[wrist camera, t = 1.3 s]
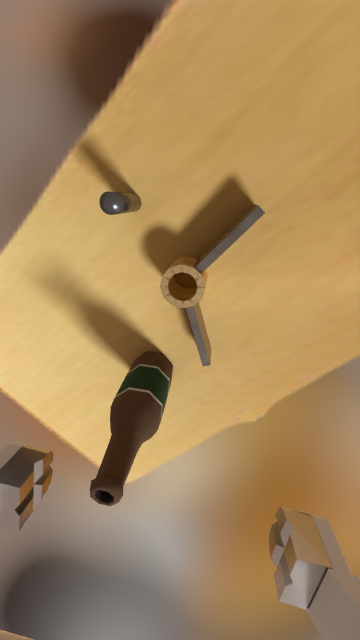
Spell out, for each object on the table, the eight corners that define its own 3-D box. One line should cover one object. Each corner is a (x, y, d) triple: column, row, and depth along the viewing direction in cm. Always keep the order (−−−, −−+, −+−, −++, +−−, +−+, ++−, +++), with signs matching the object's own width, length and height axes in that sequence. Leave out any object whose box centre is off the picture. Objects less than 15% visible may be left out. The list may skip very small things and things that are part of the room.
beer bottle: (163, 391, 52) (122, 529, 30) (127, 372, 51) (59, 500, 29) (182, 362, 48) (151, 494, 27) (144, 342, 48) (81, 461, 26)
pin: (132, 189, 38) (107, 186, 30) (144, 202, 38) (124, 203, 30) (121, 202, 39) (95, 203, 30) (134, 215, 39) (111, 219, 31)
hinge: (241, 191, 36) (245, 189, 30) (311, 270, 39) (325, 282, 33) (143, 293, 44) (132, 306, 38) (206, 352, 47) (205, 372, 41)
